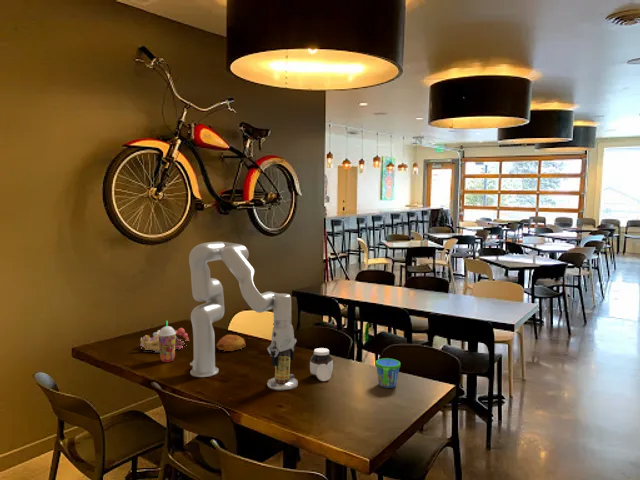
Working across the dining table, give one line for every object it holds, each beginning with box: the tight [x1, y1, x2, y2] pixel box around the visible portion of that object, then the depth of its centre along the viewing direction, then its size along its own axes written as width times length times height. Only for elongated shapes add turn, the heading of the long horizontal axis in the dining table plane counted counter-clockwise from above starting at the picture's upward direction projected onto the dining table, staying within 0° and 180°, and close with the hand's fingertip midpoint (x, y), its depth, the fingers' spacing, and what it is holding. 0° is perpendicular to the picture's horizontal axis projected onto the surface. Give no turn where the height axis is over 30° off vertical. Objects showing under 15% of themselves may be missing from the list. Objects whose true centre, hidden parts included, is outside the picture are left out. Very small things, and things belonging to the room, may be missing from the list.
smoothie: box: [158, 320, 177, 363], centre depth 234 cm, size 8×8×20 cm
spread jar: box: [309, 347, 334, 382], centre depth 213 cm, size 12×11×12 cm
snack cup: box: [375, 357, 401, 389], centre depth 203 cm, size 16×10×10 cm
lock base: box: [266, 373, 299, 391], centre depth 204 cm, size 13×13×3 cm
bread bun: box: [215, 333, 246, 352], centre depth 256 cm, size 15×16×8 cm
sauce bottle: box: [274, 349, 291, 384], centre depth 203 cm, size 6×6×20 cm
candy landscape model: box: [140, 327, 190, 353], centre depth 258 cm, size 25×24×9 cm
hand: (282, 362), depth 203 cm, fingers open, 9 cm apart
